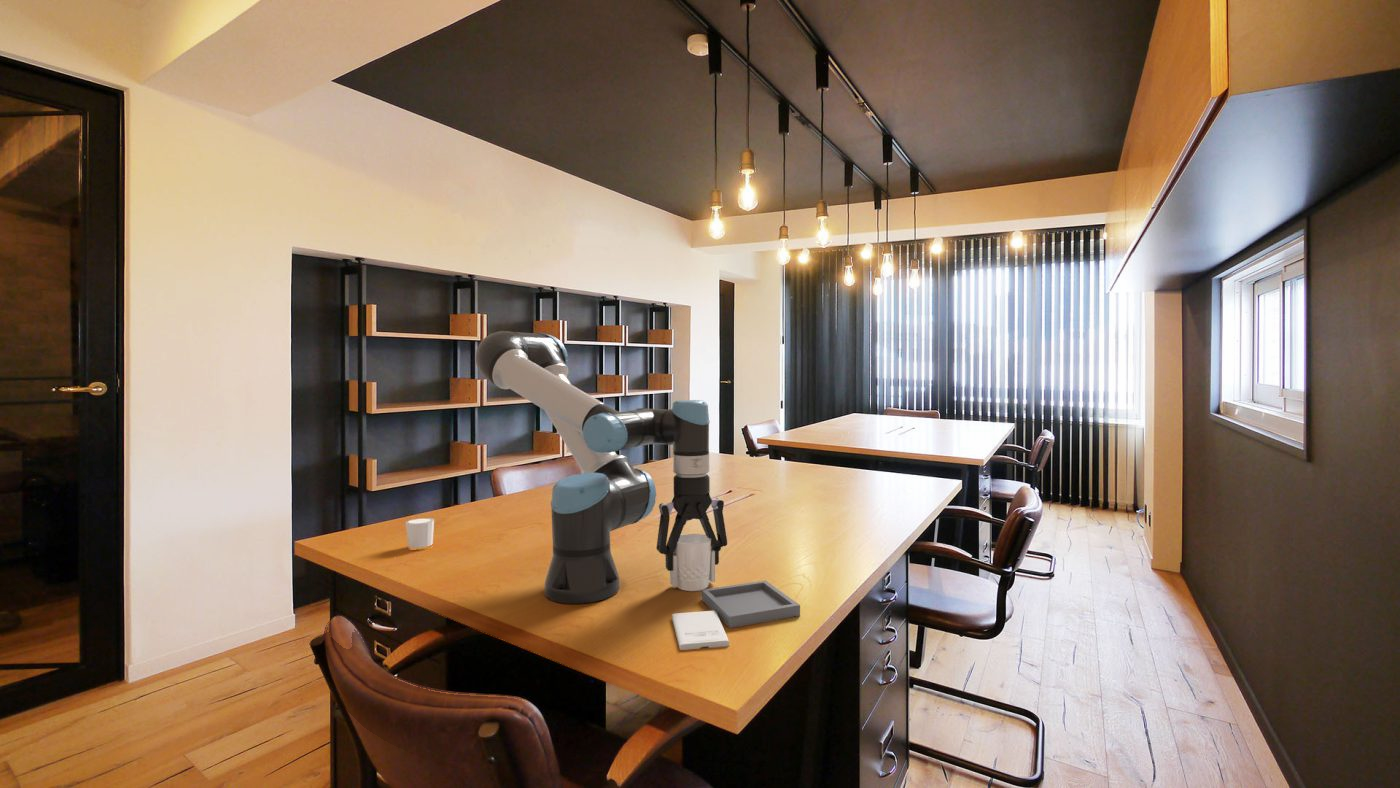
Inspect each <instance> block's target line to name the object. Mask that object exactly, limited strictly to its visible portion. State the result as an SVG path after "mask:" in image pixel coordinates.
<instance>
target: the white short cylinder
mask: <svg viewBox="0 0 1400 788" xmlns="http://www.w3.org/2000/svg"><path fill="white" fill-rule="evenodd" d="M434 527H435V518H432V517H420V518H413V519H410V520H407V521H405V531H406V536H407V537H406V538H407V544H408V548H409V547H411V548H421V547H427V546H430V545H432V544H433V543H434V530H435V529H434Z"/></svg>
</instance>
